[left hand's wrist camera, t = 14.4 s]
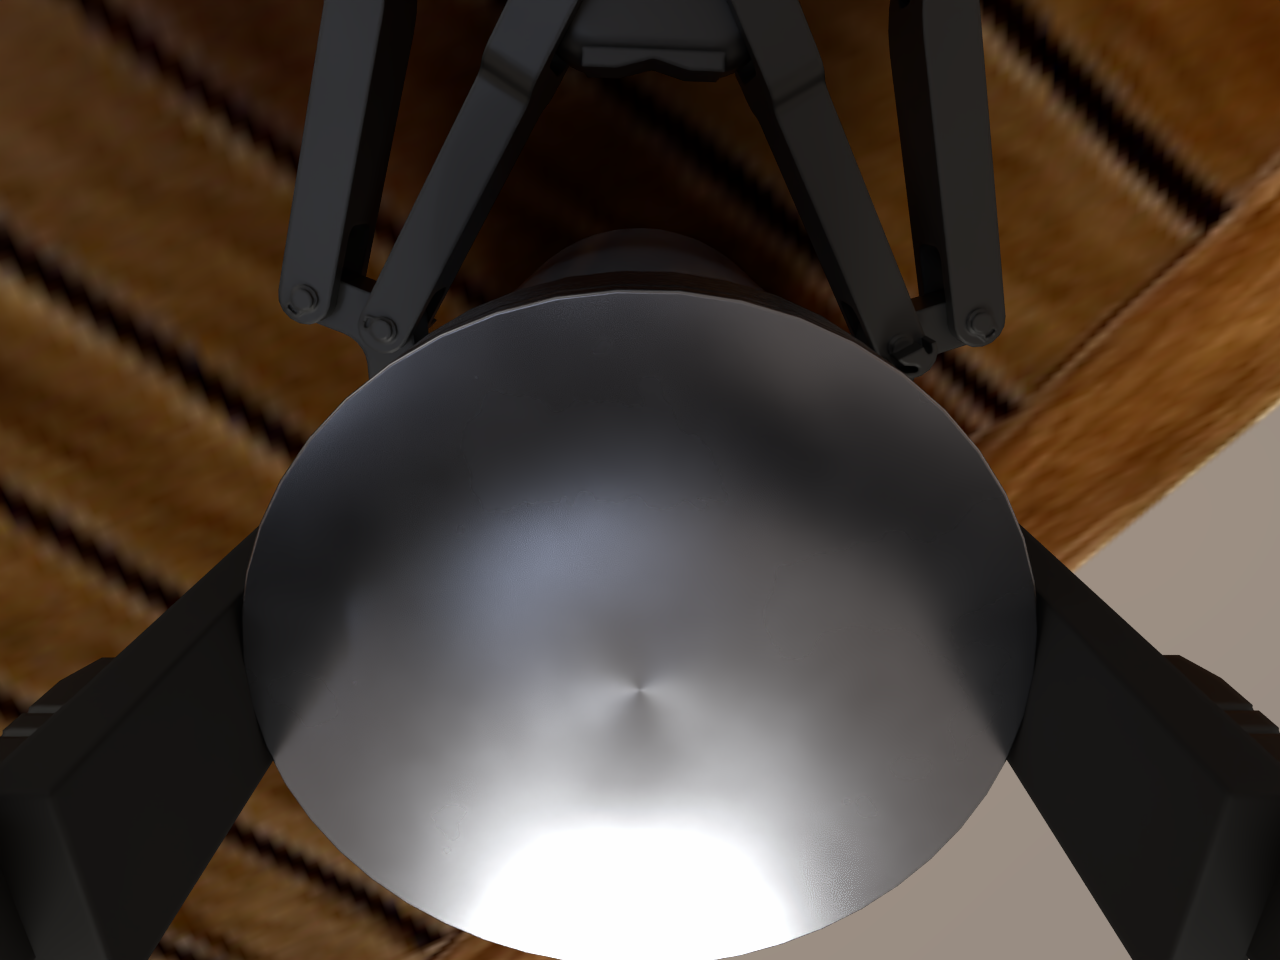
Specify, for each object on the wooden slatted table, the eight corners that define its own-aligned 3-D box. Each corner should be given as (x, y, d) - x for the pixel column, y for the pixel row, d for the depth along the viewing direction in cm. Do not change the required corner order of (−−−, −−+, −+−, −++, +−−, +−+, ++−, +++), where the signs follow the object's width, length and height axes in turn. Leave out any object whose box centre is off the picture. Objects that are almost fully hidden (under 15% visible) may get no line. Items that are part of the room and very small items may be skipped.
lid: (225, 288, 11) (141, 311, 9) (1023, 250, 10) (1104, 266, 9) (364, 879, 14) (324, 978, 13) (946, 858, 14) (990, 956, 12)
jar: (485, 228, 25) (219, 317, 9) (792, 227, 25) (1058, 316, 9) (505, 510, 29) (338, 925, 13) (773, 509, 29) (942, 924, 13)
